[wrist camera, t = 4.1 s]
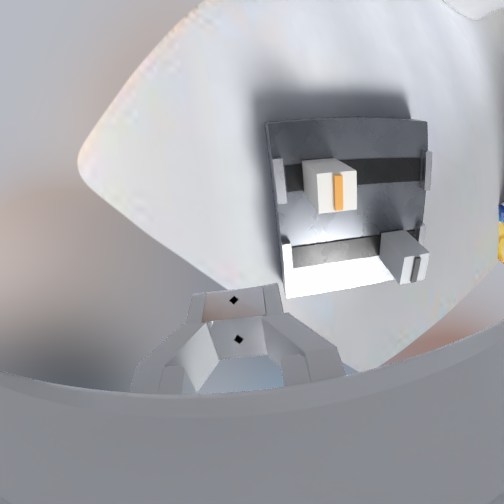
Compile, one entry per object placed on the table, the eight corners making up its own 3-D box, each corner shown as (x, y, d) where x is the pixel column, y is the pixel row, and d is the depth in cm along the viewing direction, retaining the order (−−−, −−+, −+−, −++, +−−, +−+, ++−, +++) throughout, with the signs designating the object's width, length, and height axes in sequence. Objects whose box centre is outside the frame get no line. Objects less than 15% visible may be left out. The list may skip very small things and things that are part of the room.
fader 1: (301, 160, 22) (317, 174, 18) (334, 158, 22) (358, 171, 18) (304, 193, 24) (319, 215, 19) (336, 190, 24) (358, 210, 19)
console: (264, 122, 24) (268, 124, 20) (411, 119, 23) (431, 122, 20) (282, 282, 32) (287, 302, 29) (402, 262, 32) (416, 279, 28)
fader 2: (381, 233, 26) (405, 259, 21) (405, 229, 26) (431, 254, 21) (379, 258, 28) (400, 286, 23) (401, 254, 27) (425, 281, 23)
